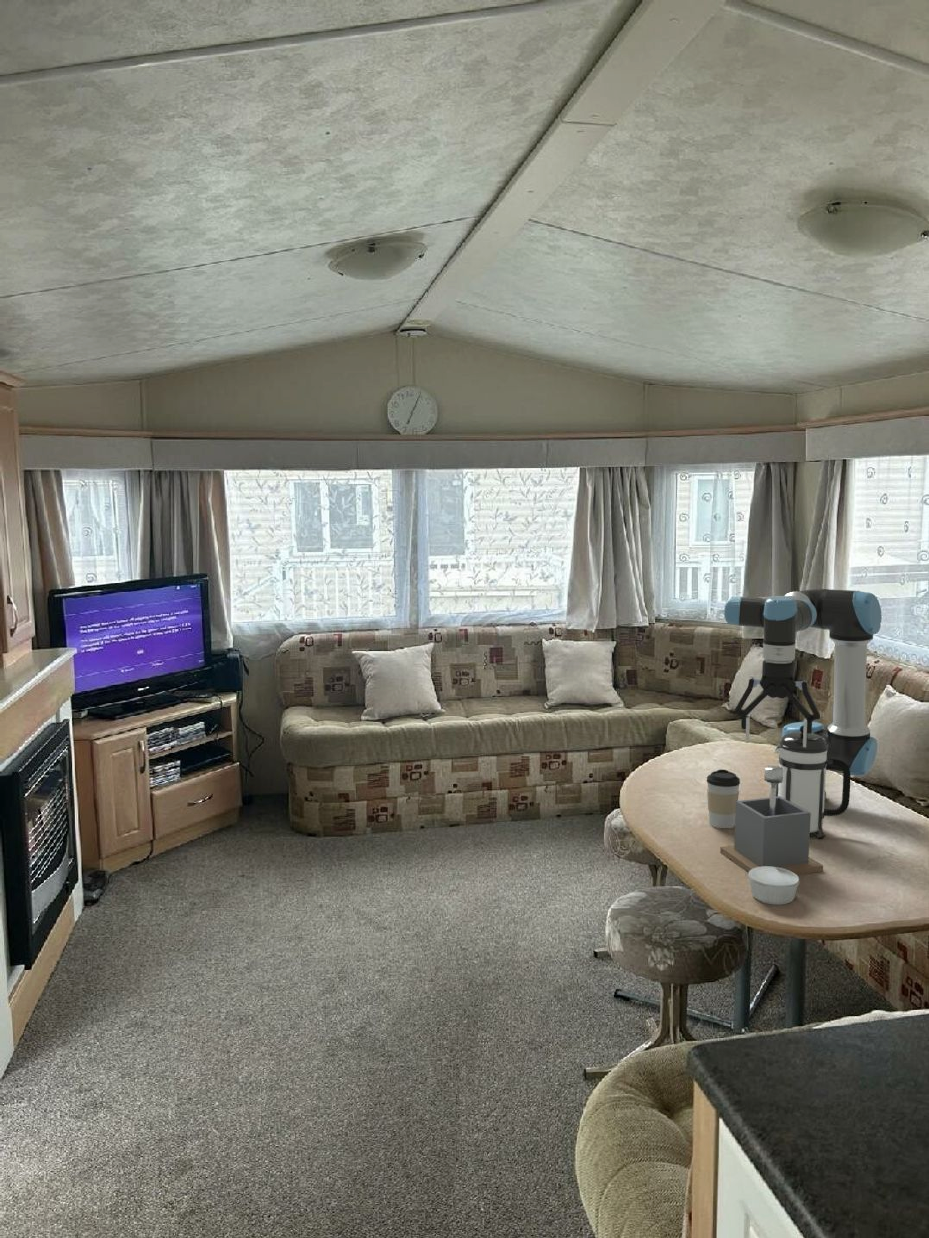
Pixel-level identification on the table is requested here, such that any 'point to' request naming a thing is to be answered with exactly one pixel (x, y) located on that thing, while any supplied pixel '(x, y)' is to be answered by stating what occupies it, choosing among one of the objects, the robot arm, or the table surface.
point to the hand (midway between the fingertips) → (775, 743)
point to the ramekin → (773, 884)
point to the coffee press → (809, 776)
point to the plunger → (773, 784)
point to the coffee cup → (722, 798)
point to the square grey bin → (772, 837)
